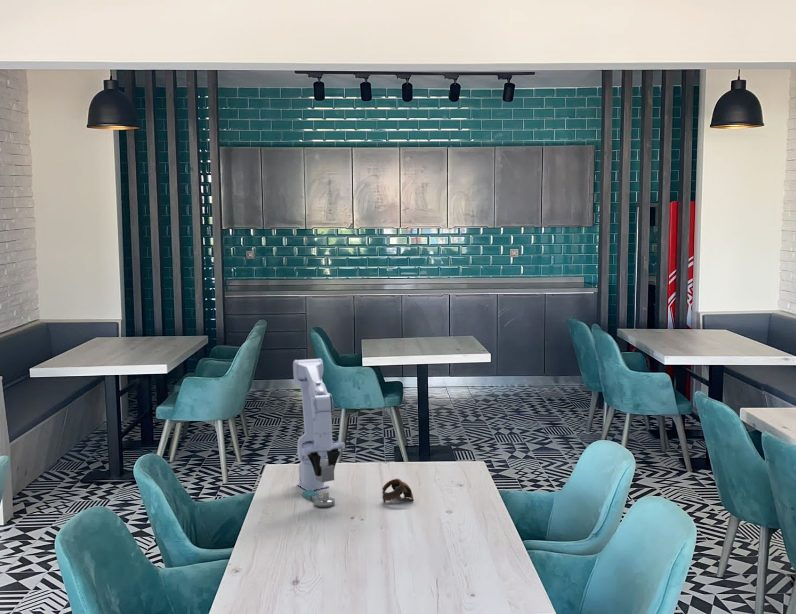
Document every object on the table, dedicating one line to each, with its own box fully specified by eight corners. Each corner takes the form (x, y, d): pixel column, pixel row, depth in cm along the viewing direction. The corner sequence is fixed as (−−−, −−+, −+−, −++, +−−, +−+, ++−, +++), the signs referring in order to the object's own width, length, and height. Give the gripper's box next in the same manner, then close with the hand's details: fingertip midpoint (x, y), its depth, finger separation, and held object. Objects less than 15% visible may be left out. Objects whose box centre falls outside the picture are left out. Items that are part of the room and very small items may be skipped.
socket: (315, 479, 269) (315, 464, 268) (327, 476, 271) (327, 461, 271) (321, 482, 265) (321, 467, 265) (334, 480, 267) (333, 464, 267)
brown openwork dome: (418, 505, 267) (406, 486, 264) (391, 519, 267) (380, 500, 264) (412, 486, 278) (401, 467, 275) (387, 499, 278) (375, 480, 275)
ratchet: (298, 496, 278) (297, 484, 278) (315, 493, 281) (315, 481, 281) (320, 509, 264) (319, 496, 264) (338, 505, 268) (337, 493, 267)
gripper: (307, 437, 260) (309, 480, 261) (349, 431, 268) (350, 473, 269) (298, 433, 266) (299, 475, 267) (338, 427, 273) (339, 468, 275)
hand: (324, 474), depth 268 cm, fingers closed on socket, 4 cm apart
